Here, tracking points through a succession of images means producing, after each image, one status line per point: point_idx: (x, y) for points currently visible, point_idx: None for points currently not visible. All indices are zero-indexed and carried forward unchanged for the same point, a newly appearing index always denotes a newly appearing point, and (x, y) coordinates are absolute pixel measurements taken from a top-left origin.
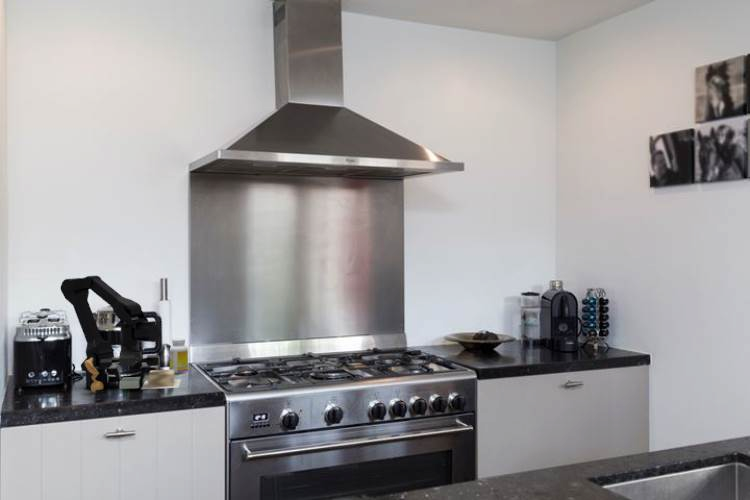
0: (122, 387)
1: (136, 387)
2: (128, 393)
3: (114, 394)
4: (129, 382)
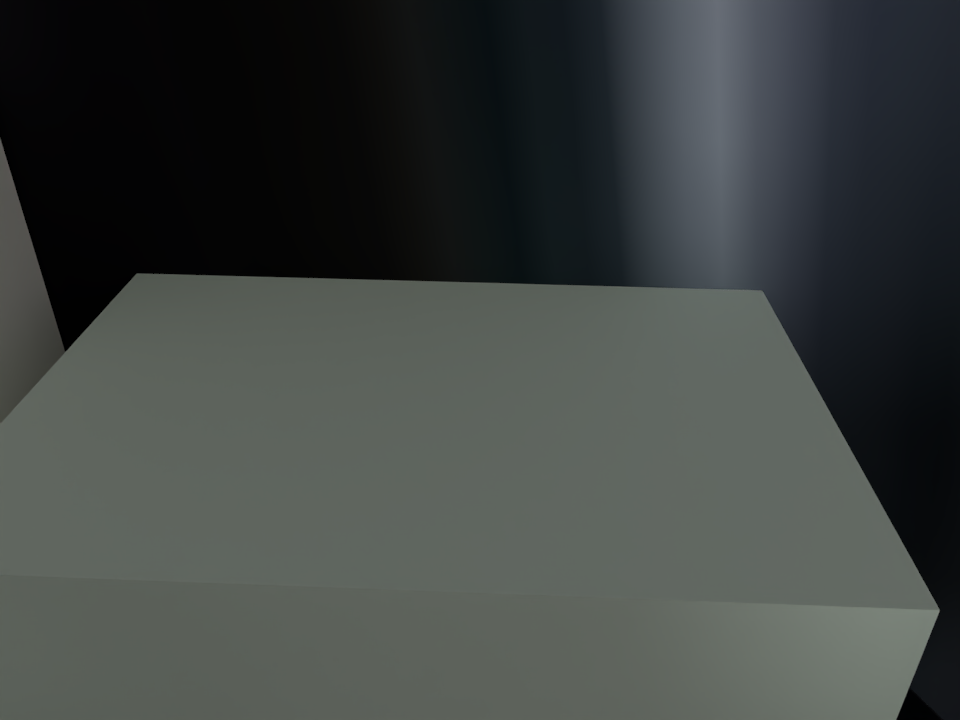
0: (703, 399)
1: (133, 366)
2: (455, 210)
3: (953, 135)
4: (383, 526)
